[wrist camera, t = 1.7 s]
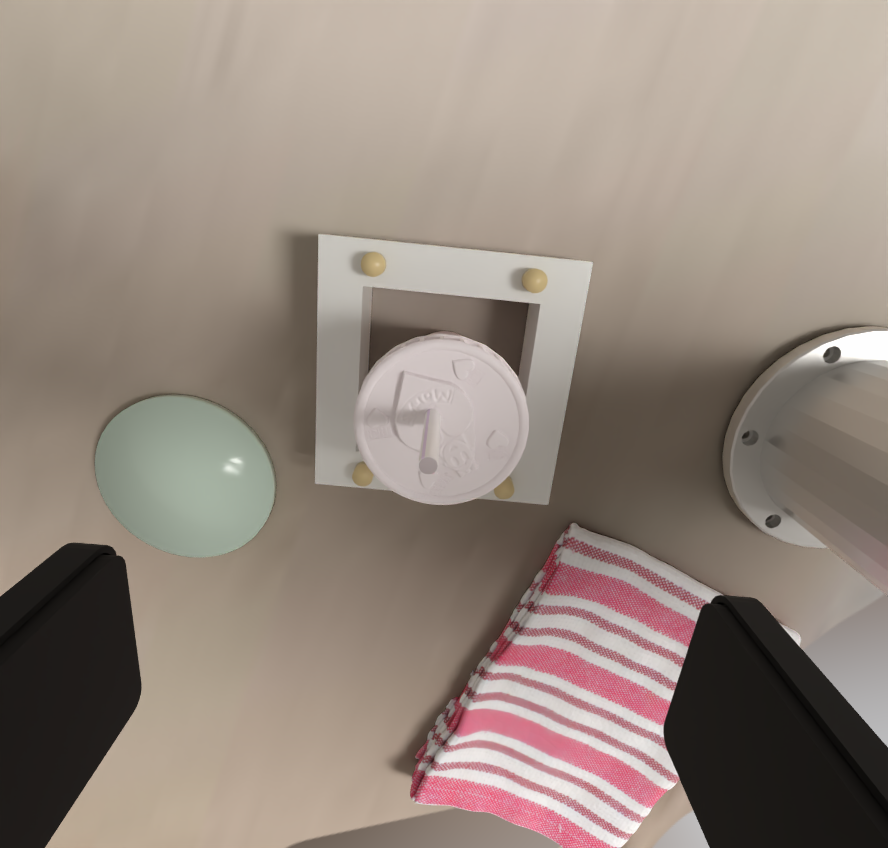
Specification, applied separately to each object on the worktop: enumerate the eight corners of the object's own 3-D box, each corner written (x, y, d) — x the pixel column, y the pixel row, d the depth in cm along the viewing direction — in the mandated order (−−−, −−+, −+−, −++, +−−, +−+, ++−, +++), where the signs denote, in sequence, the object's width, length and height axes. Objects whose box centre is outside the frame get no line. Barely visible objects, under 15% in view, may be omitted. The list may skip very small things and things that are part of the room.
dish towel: (403, 760, 38) (399, 809, 35) (566, 509, 31) (580, 541, 28) (601, 832, 40) (614, 885, 37) (795, 615, 33) (832, 656, 30)
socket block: (576, 259, 26) (598, 262, 22) (538, 478, 30) (551, 512, 26) (334, 234, 25) (313, 233, 22) (328, 458, 29) (310, 490, 26)
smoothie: (465, 279, 26) (480, 320, 13) (526, 385, 28) (595, 516, 15) (360, 346, 27) (275, 445, 14) (425, 442, 29) (404, 612, 16)
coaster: (275, 403, 28) (271, 406, 28) (277, 558, 32) (274, 564, 31) (90, 385, 28) (83, 388, 27) (112, 544, 31) (106, 549, 31)
